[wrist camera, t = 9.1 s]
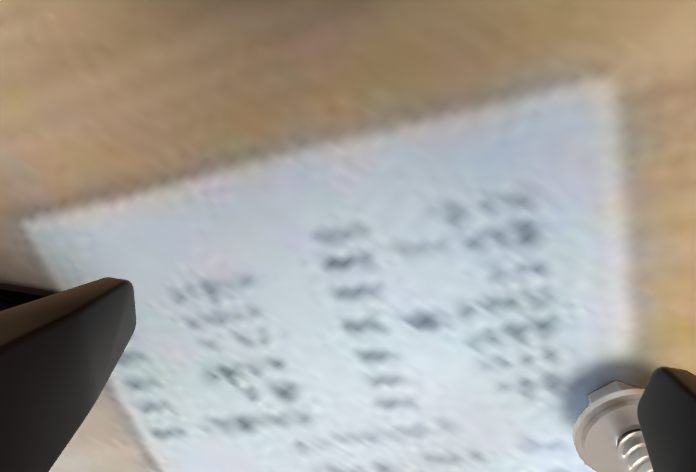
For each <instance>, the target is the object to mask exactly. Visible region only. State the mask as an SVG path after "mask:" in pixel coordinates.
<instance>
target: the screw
mask: <svg viewBox="0 0 696 472" xmlns="http://www.w3.org/2000/svg"><path fill="white" fill-rule="evenodd" d="M644 390H645V389H640V388H637V387H634V386H631V385H628V384H625V383H622V382H619V381H616V380H615V381H614V382H612V383H610V384H608V385H606V386H604V387H602V388H600V389H598V390H596V391H594V392H592V393H590V394H588V407H587V408H586V409H585V410H584V411H583V412H582V413H581V415H580V416H579V417H578V419H577V421H576V423H575V425H574V430H573V441H574V445H575V448H576V450H577V452H578V454H579V456H580V458H581V459H582V460H583V461H584V462H585V464H586V465H588V466H589V467H591V468H592V469H593V470H595V471H597V472H653V469H652V465H651V462H650V458H649V455H648V452H647V448H646V445H645V442H644V438H643V435H642V431H641V428H640V425H639V421H638V417H637V407H638V403H639V400H640V398H641V396H642V394H643V392H644Z"/></svg>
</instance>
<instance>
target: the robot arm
mask: <svg viewBox="0 0 696 472" xmlns="http://www.w3.org/2000/svg"><path fill="white" fill-rule="evenodd" d="M135 325H136V313H135V300H134V289H133V285H132V283H131V282H129V281H128V280H123V279H117V278H111V277H106V278H103V279H99V280H96V281H93V282H90V283H87V284H84V285H81V286H78V287H75V288H72V289H68V290H65V291H62V292H59V293H53V292H50V291H43V290H37V289H31V288H25V287H19V286H13V285H7V284H0V472H48V471H49V470H50V469H51V467H52V466H53V464H54V463H55V461H56V460H57V458H58V457H59V456H60V454H61V453H62V451H63V450H64V448H65V447H66V445H67V444H68V443H69V441H70V440H71V438H72V437H73V435H74V434H75V432H76V431H77V430H78V428H79V427H80V425H81V424H82V422H83V421H84V419H85V418H86V416H87V415H88V413H89V412H90V410H91V409H92V407H93V405H94V404H95V402H96V400H97V399H98V397H99V395H100V393H101V392H102V390H103V388H104V386H105V384H106V382H107V381H108V379H109V377H110V375H111V373H112V371H113V369H114V368H115V366H116V364H117V362H118V360H119V358H120V357H121V355H122V353H123V351H124V349H125V347H126V346H127V344H128V342H129V340H130V338H131V336H132V334H133V332H134V329H135ZM637 417H638V421H639V425H640V428H641V431H642V435H643V438H644V442H645V445H646V448H647V452H648V455H649V458H650V462H651V465H652V469H653V472H696V376H695V375H693V374H692V373H690V372H688V371H686V370H682V369H676V368H669V367H659V368H657V369H656V370H655V371H654V372H653V374H652V376H651V378H650V380H649V382H648V384H647V386H646V388H645V390H644V392H643V394H642V396H641V398H640V400H639V403H638V407H637Z"/></svg>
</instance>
